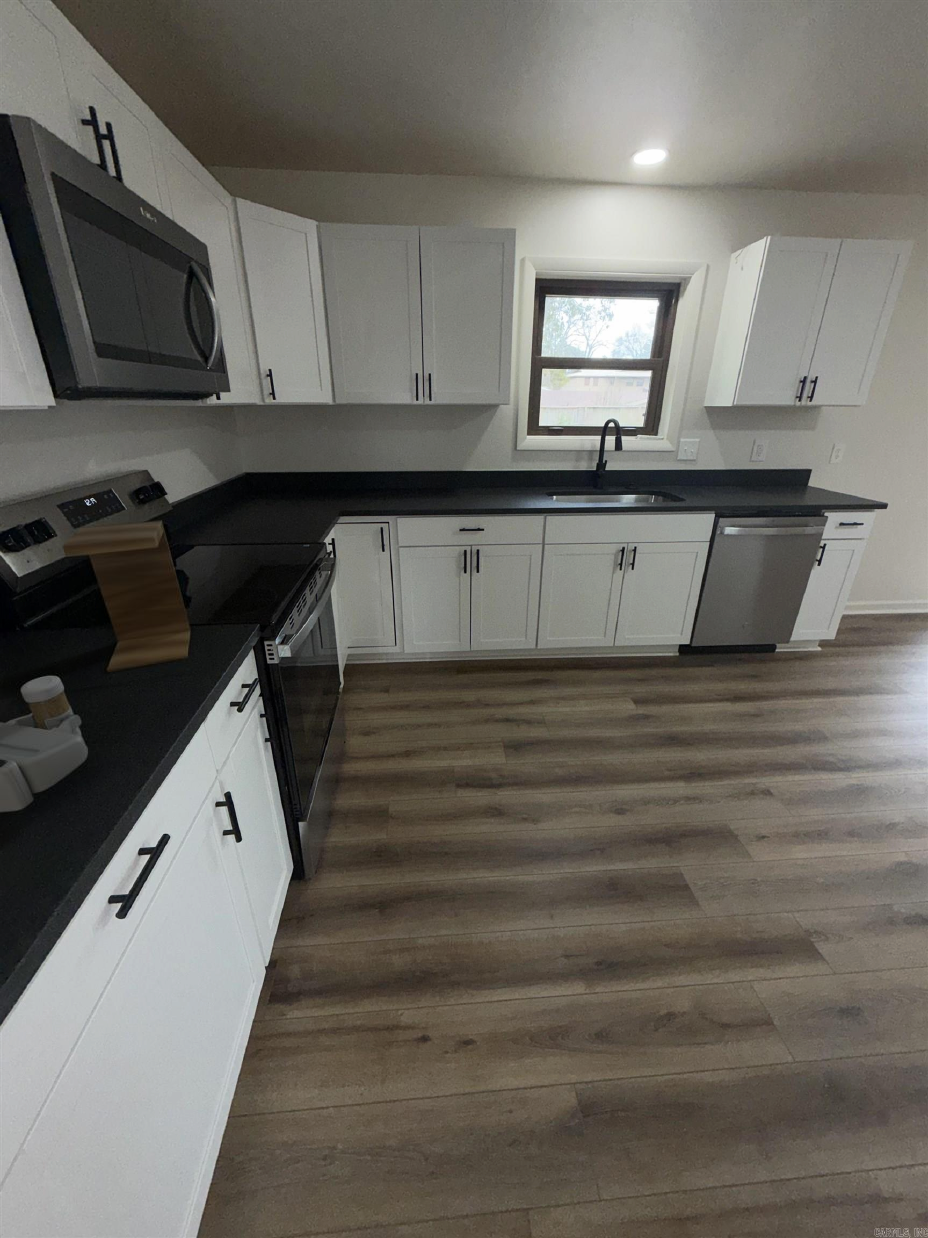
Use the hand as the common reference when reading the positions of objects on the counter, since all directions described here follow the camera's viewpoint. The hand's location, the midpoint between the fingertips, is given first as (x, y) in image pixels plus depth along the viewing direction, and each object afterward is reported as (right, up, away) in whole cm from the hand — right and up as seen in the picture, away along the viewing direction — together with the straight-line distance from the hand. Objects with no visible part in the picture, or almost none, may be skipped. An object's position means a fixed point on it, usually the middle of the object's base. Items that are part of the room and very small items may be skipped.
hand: (61, 716), depth 75 cm
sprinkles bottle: (0, -7, +2) cm, 7 cm away
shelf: (-5, +7, +31) cm, 32 cm away
